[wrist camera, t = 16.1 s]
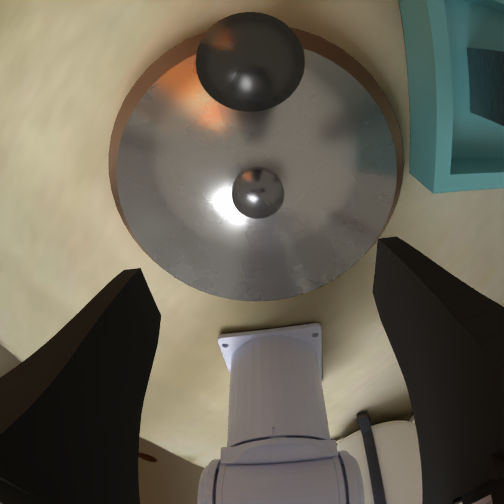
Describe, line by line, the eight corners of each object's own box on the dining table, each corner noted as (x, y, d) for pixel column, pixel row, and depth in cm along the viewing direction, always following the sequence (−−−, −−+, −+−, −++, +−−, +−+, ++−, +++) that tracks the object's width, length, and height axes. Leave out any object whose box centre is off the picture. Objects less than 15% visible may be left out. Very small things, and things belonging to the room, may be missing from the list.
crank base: (388, 268, 21) (394, 280, 19) (163, 298, 22) (159, 311, 21) (385, 20, 12) (395, 18, 11) (86, 71, 13) (75, 73, 12)
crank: (371, 283, 19) (399, 353, 14) (154, 293, 20) (131, 365, 15) (396, 41, 11) (466, 40, 6) (102, 57, 12) (32, 64, 7)
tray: (533, 168, 16) (558, 184, 13) (409, 172, 17) (432, 193, 14) (533, 15, 9) (562, 19, 6) (393, -26, 10) (418, -38, 7)
